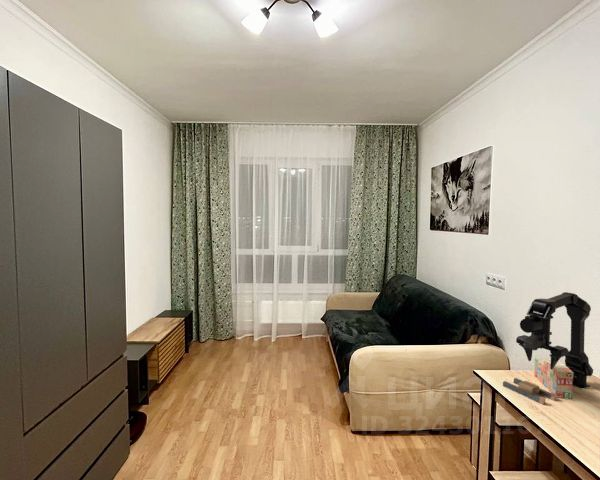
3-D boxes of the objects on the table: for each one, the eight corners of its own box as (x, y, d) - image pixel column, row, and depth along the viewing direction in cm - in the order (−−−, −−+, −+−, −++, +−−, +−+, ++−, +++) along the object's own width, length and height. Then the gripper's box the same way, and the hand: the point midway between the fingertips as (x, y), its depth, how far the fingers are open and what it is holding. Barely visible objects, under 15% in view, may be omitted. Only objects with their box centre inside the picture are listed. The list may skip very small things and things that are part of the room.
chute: (515, 382, 168) (515, 376, 168) (556, 400, 151) (556, 394, 151) (502, 385, 164) (503, 380, 164) (543, 404, 148) (543, 399, 148)
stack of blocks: (533, 376, 174) (534, 351, 173) (548, 377, 173) (549, 352, 172) (555, 398, 153) (557, 370, 152) (572, 399, 152) (573, 371, 151)
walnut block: (525, 389, 162) (525, 380, 161) (539, 395, 156) (539, 386, 156) (518, 391, 160) (518, 382, 159) (531, 397, 154) (532, 388, 154)
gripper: (508, 325, 156) (507, 360, 157) (553, 339, 139) (551, 377, 141) (524, 322, 161) (523, 355, 162) (570, 334, 144) (568, 372, 145)
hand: (540, 364), depth 152 cm, fingers open, 9 cm apart
